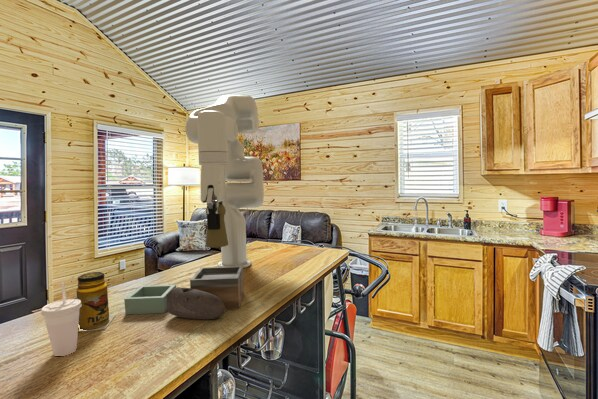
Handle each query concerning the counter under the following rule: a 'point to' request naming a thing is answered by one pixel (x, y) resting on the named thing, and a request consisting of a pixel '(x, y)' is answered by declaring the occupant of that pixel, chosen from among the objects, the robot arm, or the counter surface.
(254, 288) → the counter surface
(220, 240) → the tan rounded piece
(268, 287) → the counter surface
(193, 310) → the perforated stone tool
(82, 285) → the condiment
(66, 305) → the smoothie
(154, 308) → the shaker holder
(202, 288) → the gray open box
